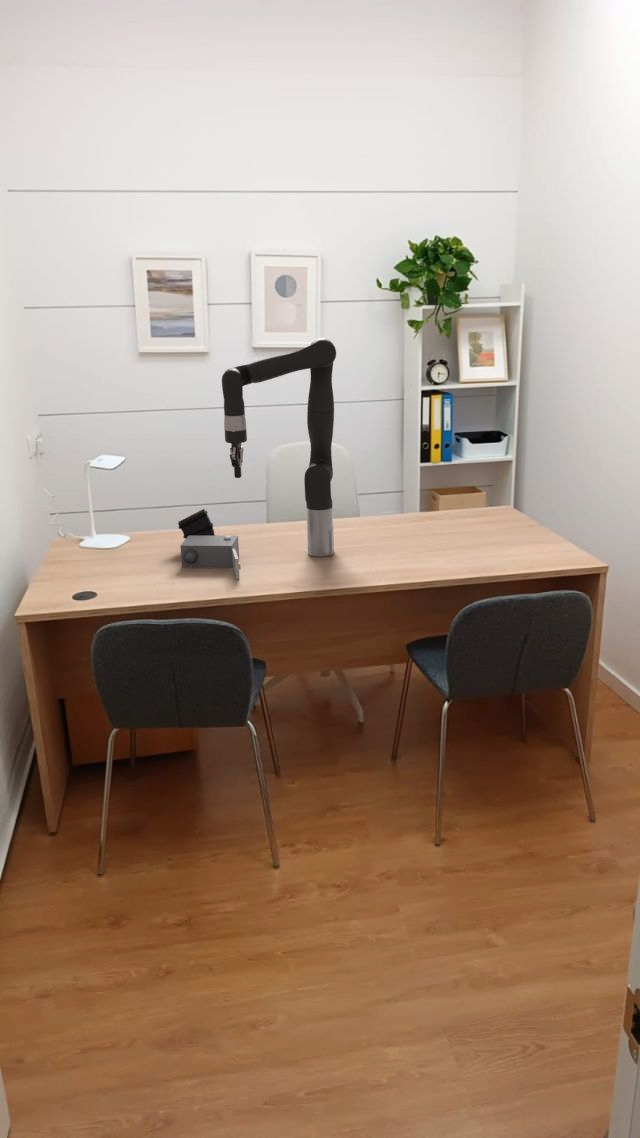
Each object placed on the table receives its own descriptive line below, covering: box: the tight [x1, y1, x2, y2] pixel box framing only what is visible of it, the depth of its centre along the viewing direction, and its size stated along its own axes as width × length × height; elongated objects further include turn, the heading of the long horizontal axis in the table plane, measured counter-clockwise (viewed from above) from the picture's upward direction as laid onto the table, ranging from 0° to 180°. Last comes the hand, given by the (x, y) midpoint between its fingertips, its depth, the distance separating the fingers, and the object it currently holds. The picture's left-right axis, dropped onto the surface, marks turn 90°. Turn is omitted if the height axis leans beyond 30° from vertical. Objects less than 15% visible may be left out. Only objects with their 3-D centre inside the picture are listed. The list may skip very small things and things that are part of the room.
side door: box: [232, 548, 241, 580], centre depth 289 cm, size 12×2×7 cm, turn 11°
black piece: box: [177, 508, 216, 540], centre depth 316 cm, size 4×13×15 cm, turn 93°
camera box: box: [180, 535, 240, 569], centre depth 301 cm, size 18×14×9 cm
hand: (238, 477), depth 299 cm, fingers closed
